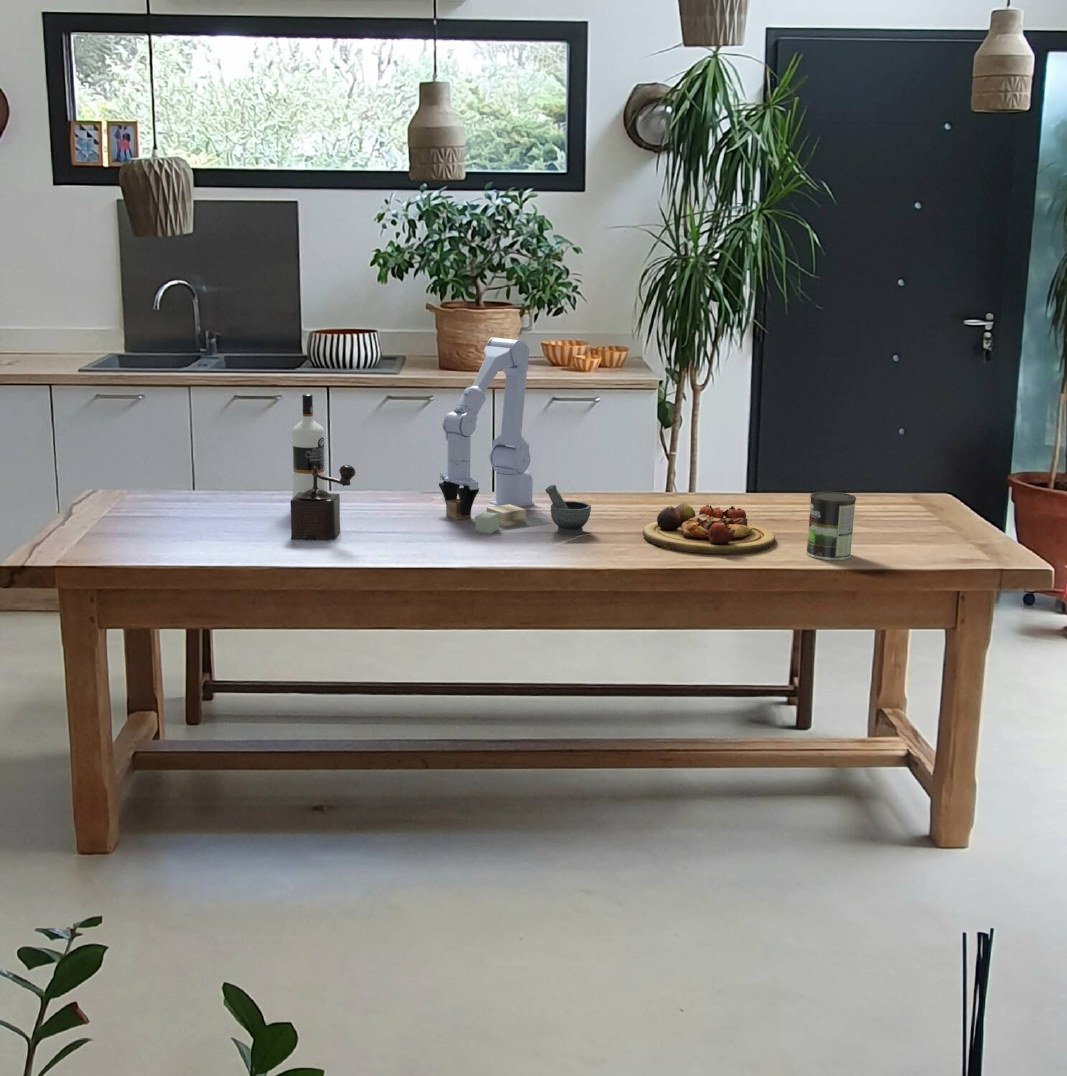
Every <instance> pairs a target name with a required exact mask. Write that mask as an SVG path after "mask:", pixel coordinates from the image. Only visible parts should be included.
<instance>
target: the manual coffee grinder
mask: <svg viewBox="0 0 1067 1076" xmlns="http://www.w3.org/2000/svg"><path fill="white" fill-rule="evenodd" d="M312 470H313V473H312V476H313V488H312V489H309V490H307V491H305V492H304V493H303V492H299V493H298V494H297V495H296V496H295V497H294V498H293V497H292V498H293V499H290V528H291V529H290V530H291V531H290V532H291V537H290V539H291V540H293V541H294V540H295V541H298V540H299V541H334V540H335V539H337V538H338V537H339V535H340V532H341V516H340V515H341V514H340V513H341V509H340V508H341V496H340V493H333V492H332V493H330V492H328V491H327V490H326V491H324V490H322V489H318V487H317V477H318V478H320V479H323V480H325V481H329V482H332V483H337V484H339V485H342V487H346V486H351V485H352V484H351V479H353V477H355V476H356V469H355V468H354V467H353V466H352V465H350V464H344V465H341V466H340V467H339V470H338V471H339V475H340V479H337V478H334V477H330V476H326V475H325V476H321V475H318V473H317V471H318V468H317V467H313V469H312Z"/></svg>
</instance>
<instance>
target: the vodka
mask: <svg viewBox="0 0 1067 1076" xmlns="http://www.w3.org/2000/svg"><path fill="white" fill-rule="evenodd" d="M301 399H302V420H301V421H299V422H298V423H297V424H296V425H294V426H293V428H292V429H291V444H292V461H293V462H292V463H293V464H292V467H293V470H292V473H291V474H292V479H293V480H292V481H293V484H292V485H293V487H292V499H293V498H294V497H295V496H296V495H297V494H298V493H299V492H303V493H304V492H305V491H307V490H309V489H312V488H313V476H312V473H313V470H312V469H313V467H317V468H318V471H317V473H318V475H321V476H325V477H326V471H325V467H326V465H325V444H326V441H325V439H326V438H325V434H326V431H325V429H324V427H323V426H322V425H321V424H319V423H318V422H316V421H315V419H314V406H313V404H314V402H313V401H314V400H313V395H312V394H309V393H304V394H302V398H301ZM317 487H318V489H322V490H324V491H326V492H327V490H326V480H323V479H320V478H318V477H317ZM292 499H291V500H292Z"/></svg>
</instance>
